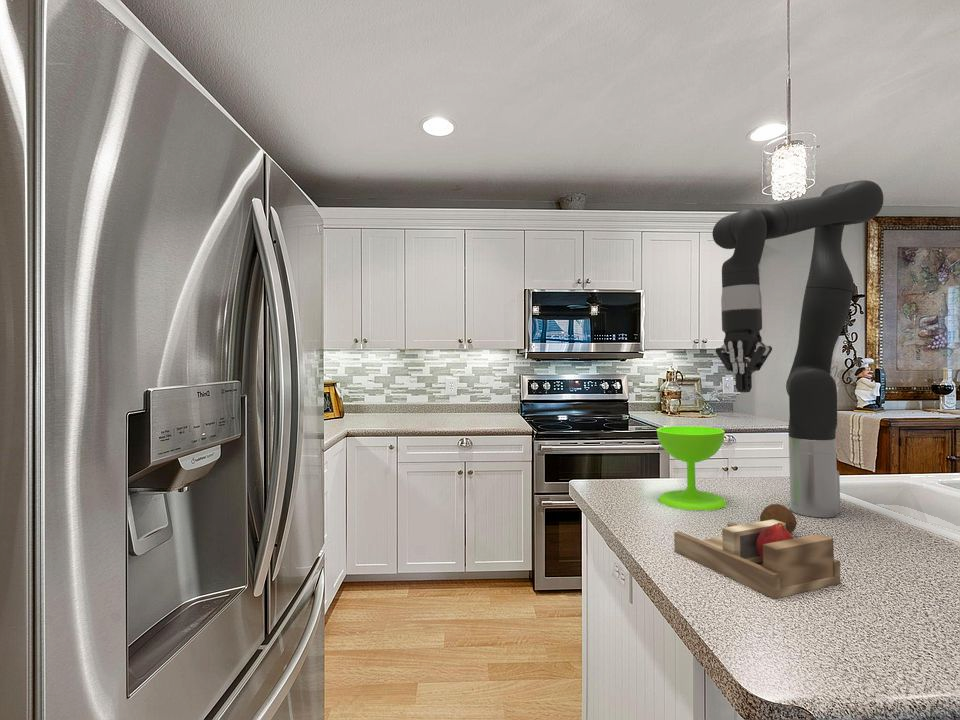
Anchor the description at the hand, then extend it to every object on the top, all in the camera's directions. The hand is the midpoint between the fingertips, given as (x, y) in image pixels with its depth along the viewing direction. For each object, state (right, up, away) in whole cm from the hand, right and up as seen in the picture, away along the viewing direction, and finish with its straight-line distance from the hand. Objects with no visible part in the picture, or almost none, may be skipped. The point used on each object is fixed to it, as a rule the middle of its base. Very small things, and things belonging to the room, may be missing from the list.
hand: (743, 392), depth 111 cm
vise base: (-8, -29, -18) cm, 35 cm away
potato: (+6, -29, -2) cm, 30 cm away
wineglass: (-1, -29, +24) cm, 38 cm away
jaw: (-7, -28, -19) cm, 34 cm away
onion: (-6, -28, -22) cm, 36 cm away
